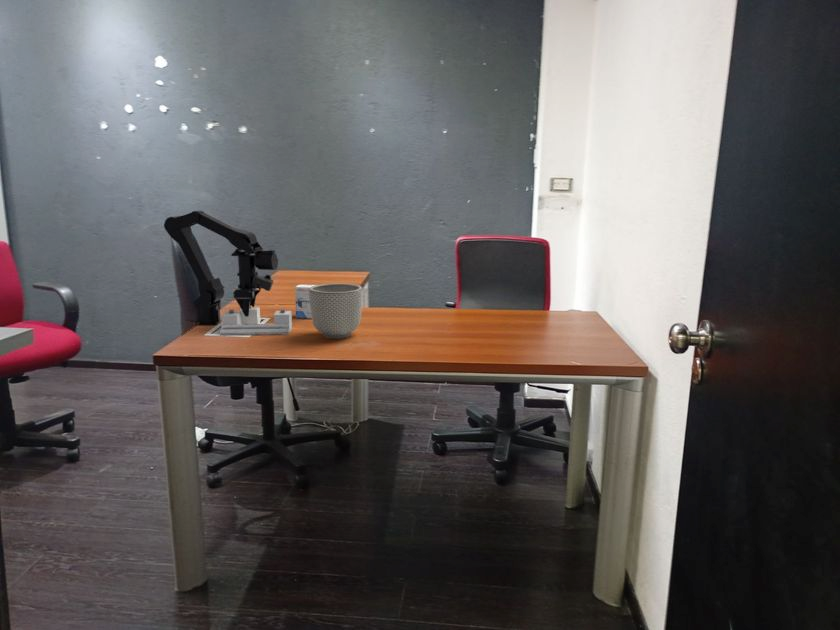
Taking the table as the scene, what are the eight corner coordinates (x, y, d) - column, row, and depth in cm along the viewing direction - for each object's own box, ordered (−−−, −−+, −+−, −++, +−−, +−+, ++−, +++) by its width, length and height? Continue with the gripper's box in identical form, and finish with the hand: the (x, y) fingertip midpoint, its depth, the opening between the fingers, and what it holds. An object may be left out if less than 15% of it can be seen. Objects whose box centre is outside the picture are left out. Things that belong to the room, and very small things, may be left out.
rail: (220, 335, 202) (219, 326, 202) (222, 333, 205) (222, 324, 205) (288, 334, 204) (288, 325, 203) (289, 332, 207) (289, 323, 206)
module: (240, 327, 214) (239, 307, 212) (243, 323, 219) (242, 304, 217) (257, 326, 214) (256, 307, 213) (260, 323, 219) (259, 304, 218)
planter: (318, 345, 191) (317, 294, 188) (304, 332, 207) (302, 285, 203) (371, 339, 199) (370, 290, 195) (353, 327, 214) (352, 281, 210)
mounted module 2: (274, 332, 206) (273, 311, 205) (277, 328, 212) (276, 308, 211) (289, 332, 207) (288, 311, 205) (291, 327, 213) (291, 307, 211)
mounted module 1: (222, 333, 205) (221, 312, 204) (226, 328, 211) (225, 308, 209) (237, 332, 206) (236, 312, 204) (241, 328, 211) (240, 308, 210)
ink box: (295, 318, 227) (294, 286, 224) (299, 315, 232) (298, 284, 229) (318, 319, 226) (317, 287, 224) (321, 315, 231) (320, 284, 228)
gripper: (266, 273, 204) (268, 319, 207) (275, 265, 222) (276, 307, 225) (231, 273, 203) (234, 319, 206) (243, 265, 221) (245, 307, 224)
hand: (249, 313), depth 216 cm, fingers open, 9 cm apart
